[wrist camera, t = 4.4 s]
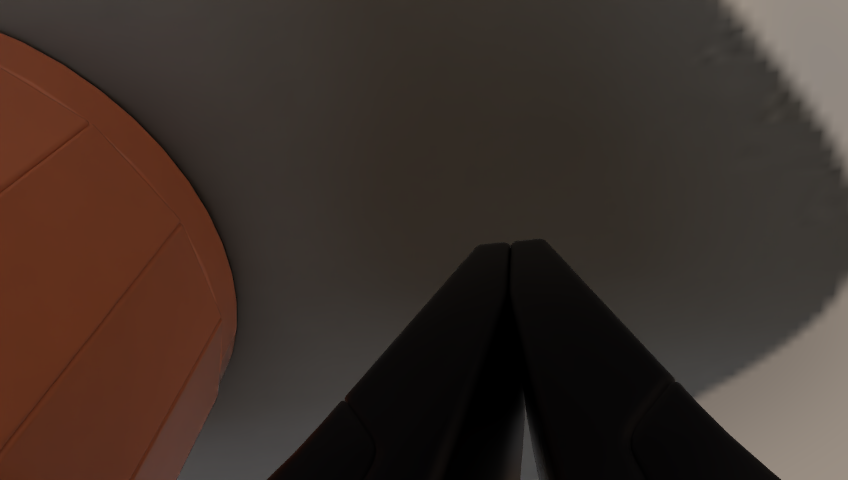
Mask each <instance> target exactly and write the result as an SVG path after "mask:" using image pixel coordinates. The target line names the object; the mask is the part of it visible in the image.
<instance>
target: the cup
mask: <svg viewBox="0 0 848 480" xmlns="http://www.w3.org/2000/svg"><path fill="white" fill-rule="evenodd" d="M236 329H237V301H236V295H235V289H234V283H233V277H232V272H231V269H230V265H229V262H228V259H227V256H226V253H225V250H224V247H223V243H222V241H221V239H220V237H219V235H218V233H217V230H216V228H215V226H214V224H213V222H212V220H211V218H210V216H209V213H208V211H207V210H206V208H205V207H204V205H203V203H202V202H201V200H200V199H199V197H198V195H197V194H196V192H195V191H194V189H193V187H192V186H191V184H190V183H189V181H188V180H187V178H186V177H185V176H184V174H183V173H182V172H181V171H180V169H179V168H178V167H177V166H176V164H175V163H174V162H173V160H172V159H171V158H170V157H169V155H168V154H167V153H166V152H165V150H164V149H163V148H162V147H161V146H160V145H159V144H158V143H157V142H156V141H155V140H154V139H153V138H152V137H151V136H150V135H149V134H148V133H147V131H146V130H145V129H144V128H143V127H142V126H141V125H140V124H139V123H138V122H137V121H136V120H135V119H134V118H133V117H131V116H130V115H129V114H128V113H127V112H126V111H124V110H123V109H122V108H121V107H120V106H118V105H117V104H116V103H115V102H114V101H113V100H111V99H110V98H109V97H108V96H107V95H105V94H104V93H103V92H102V91H101V90H99V89H98V88H96V87H95V86H94V85H92V84H91V83H89V82H88V81H86V80H85V79H83V78H82V77H81V76H79V75H78V74H76V73H75V72H73V71H72V70H70V69H69V68H68V67H66V66H65V65H63V64H61V63H60V62H58V61H56V60H54V59H52V58H51V57H49V56H47V55H45V54H43V53H42V52H40V51H38V50H36V49H34V48H32V47H31V46H29V45H27V44H25V43H23V42H21V41H19V40H17V39H14V38H12V37H9V36H7V35H5V34H2V33H0V480H177V478H178V476H179V474H180V472H181V470H182V468H183V466H184V464H185V462H186V460H187V458H188V455H189V453H190V451H191V449H192V447H193V445H194V443H195V441H196V439H197V437H198V435H199V433H200V431H201V429H202V427H203V425H204V423H205V421H206V419H207V417H208V415H209V413H210V411H211V409H212V407H213V405H214V403H215V401H216V398H217V396H218V386H219V384H220V382H221V380H222V378H223V376H224V374H225V371H226V369H227V366H228V363H229V361H230V358H231V355H232V352H233V347H234V341H235V335H236Z"/></svg>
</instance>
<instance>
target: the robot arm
mask: <svg viewBox="0 0 848 480" xmlns="http://www.w3.org/2000/svg"><path fill="white" fill-rule="evenodd" d="M525 406H526V413H527V419H528V425H529V431H530V436H531V441H532V447H533V452H534V457H535V462H536V467H537V472H538V477H539V480H781V479H779V477H777V476H776V475H775V474H774V473H773V472H771V471H770V470H769V469H768V468H767V467H766V466H765V465H763V464H762V463H761V462H760V461H759V460H758V459H757V458H755V457H754V456H753V455H752V454H751V453H750V452H748V451H747V450H746V449H745V448H744V447H743V446H742V445H741V444H740V443H738V442H737V441H736V440H735V439H734V438H733V437H732V436H730V435H729V434H728V433H727V432H726V431H725V430H724V429H723V428H722V427H721V426H720V425H719V424H718V423H717V422H716V421H715V420H714V419H713V418H712V417H711V416H710V415H709V414H708V413H707V412H706V411H705V410H704V409H703V408H702V407H701V406H700V405H699V404H698V403H697V402H696V401H695V400H694V398H693V397H692V396H691V395H690V394H689V393H688V392H687V391H686V390H685V389H684V388H683V387H682V385H681V384H680V383H678V382H675V379H674V377H673V376H672V375H671V374H670V373H669V372H668V371H667V370H666V369H665V368H664V367H663V366H662V365H661V364H660V362H659V361H658V360H657V359H656V358H655V357H654V356H653V355H652V354H651V353H650V352H649V351H648V350H647V349H646V348H645V346H644V345H643V344H642V343H641V342H640V341H639V340H638V339H637V338H636V337H635V336H634V335H633V334H632V333H631V332H630V330H629V329H628V328H627V327H626V326H625V325H624V324H623V323H622V322H621V321H620V320H619V319H618V318H617V317H616V316H615V314H614V313H613V312H612V311H611V310H610V309H609V308H608V307H607V306H606V305H605V304H604V303H603V302H602V301H601V299H600V298H599V297H598V296H597V295H596V294H595V293H594V292H593V291H592V290H591V289H590V288H589V287H588V286H587V285H586V283H585V282H584V281H583V280H582V279H581V278H580V277H579V276H578V275H577V274H576V273H575V272H574V271H573V270H572V269H571V267H570V266H569V265H568V264H567V263H566V262H565V261H564V260H563V259H562V258H561V257H560V256H559V255H558V254H557V253H556V251H555V250H554V249H553V248H552V247H551V246H550V245H549V244H548V243H547V242H546V241H545V240H543V239H533V240H523V241H516V242H514V243H512V245H511V246H510V245H509V244H508V243H505V242H503V243H492V244H482V245H479V246H477V247H476V248H475V249H474V250H473V251H472V252H471V253H470V255H469V256H468V257H467V258H466V259H465V260H464V261H463V263H462V264H461V265H460V266H459V267H458V268H457V269H456V271H455V272H454V273H453V274H452V275H451V276H450V277H449V279H448V280H447V281H446V282H445V283H444V284H443V285H442V287H441V288H440V289H439V290H438V291H437V292H436V294H435V295H434V296H433V297H432V298H431V299H430V300H429V302H428V303H427V304H426V305H425V306H424V307H423V308H422V310H421V311H420V312H419V313H418V314H417V315H416V316H415V318H414V319H413V320H412V321H411V322H410V323H409V324H408V326H407V327H406V328H405V329H404V330H403V331H402V332H401V334H400V335H399V336H398V337H397V338H396V339H395V340H394V342H393V343H392V344H391V345H390V346H389V347H388V348H387V350H386V351H385V352H384V353H383V354H382V355H381V356H380V358H379V359H378V360H377V361H376V362H375V363H374V364H373V366H372V367H371V368H370V369H369V370H368V371H367V372H366V374H365V375H364V376H363V377H362V378H361V379H360V380H359V382H358V383H357V384H356V385H355V386H354V387H353V388H352V390H351V391H350V392H349V393H348V394H347V395H346V397H345V401H341V402H340V403H339V404H338V405H337V406H336V407H335V409H334V410H333V411H332V412H331V413H330V414H329V415H328V417H327V418H326V419H325V420H324V421H323V422H322V423H321V424H320V426H319V427H318V428H317V429H316V430H315V431H314V432H313V433H312V434H311V435H310V436H309V437H308V438H307V440H306V441H305V442H304V443H303V444H302V445H301V446H300V447H299V448H298V449H297V450H296V451H295V453H294V454H293V455H292V456H291V457H290V458H288V459H287V460H286V461H285V462H284V463H283V464H282V465H281V466H280V467H279V468H278V469H277V470H276V471H275V472H274V473H273V474H272V475H271V476H270V477H269V478H268V479H267V480H520V474H521V462H522V449H523V437H524V420H525Z"/></svg>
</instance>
